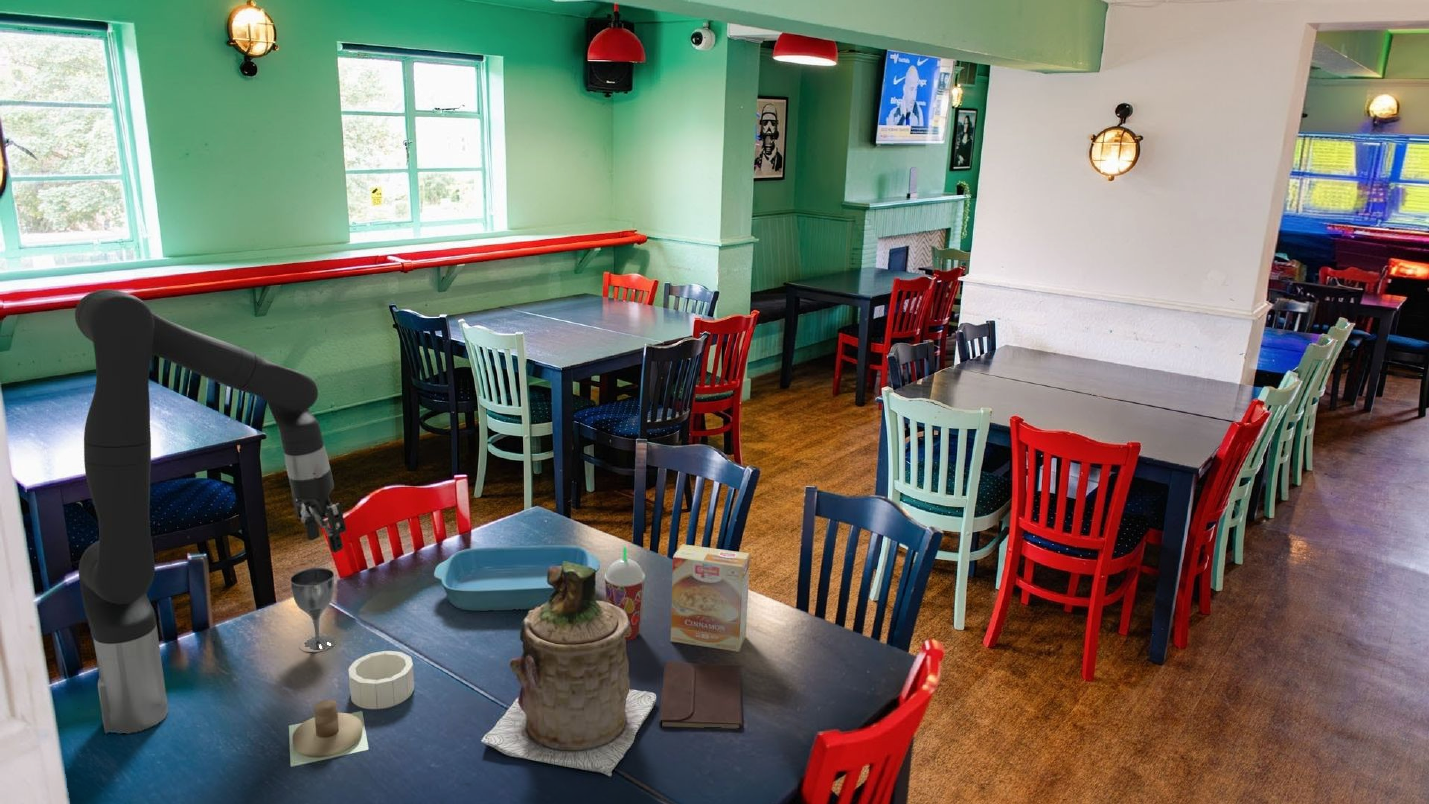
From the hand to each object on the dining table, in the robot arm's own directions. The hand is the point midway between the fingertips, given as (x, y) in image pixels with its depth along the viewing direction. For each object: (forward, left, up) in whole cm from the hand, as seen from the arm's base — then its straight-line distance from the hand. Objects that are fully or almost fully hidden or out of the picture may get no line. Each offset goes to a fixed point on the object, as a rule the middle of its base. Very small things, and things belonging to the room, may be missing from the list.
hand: (325, 544), depth 186 cm
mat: (-3, -34, -22) cm, 40 cm away
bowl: (+7, -23, -22) cm, 32 cm away
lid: (-3, -34, -21) cm, 40 cm away
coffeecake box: (+72, -26, -22) cm, 80 cm away
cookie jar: (+37, -44, -22) cm, 62 cm away
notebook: (+62, -45, -23) cm, 80 cm away
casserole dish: (+40, +9, -23) cm, 47 cm away
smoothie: (+56, -18, -22) cm, 63 cm away
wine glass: (-3, +1, -22) cm, 22 cm away
